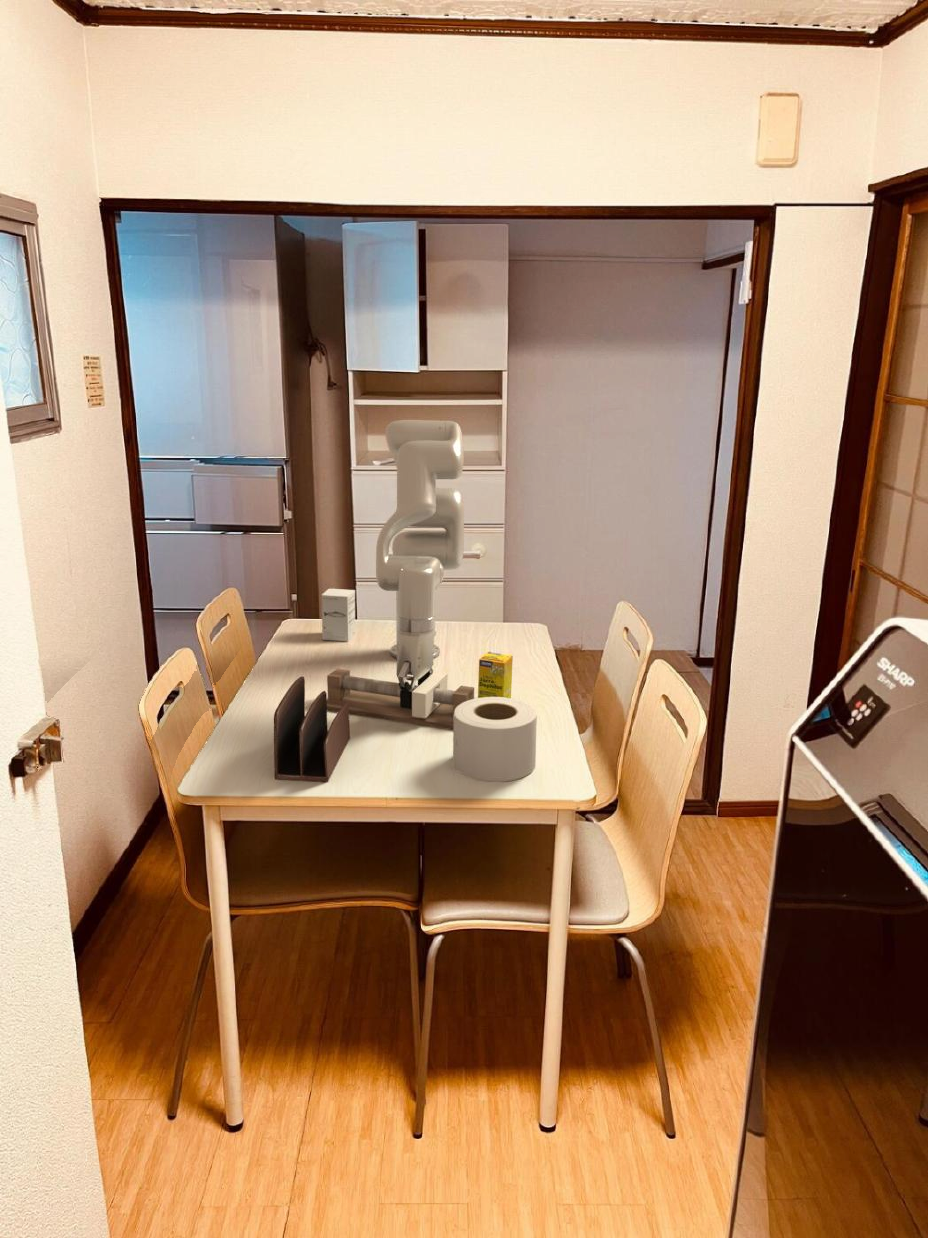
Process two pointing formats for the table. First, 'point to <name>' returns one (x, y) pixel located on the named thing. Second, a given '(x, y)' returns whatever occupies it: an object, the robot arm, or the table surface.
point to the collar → (427, 695)
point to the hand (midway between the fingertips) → (416, 700)
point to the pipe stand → (390, 700)
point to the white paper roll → (494, 739)
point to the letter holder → (307, 737)
